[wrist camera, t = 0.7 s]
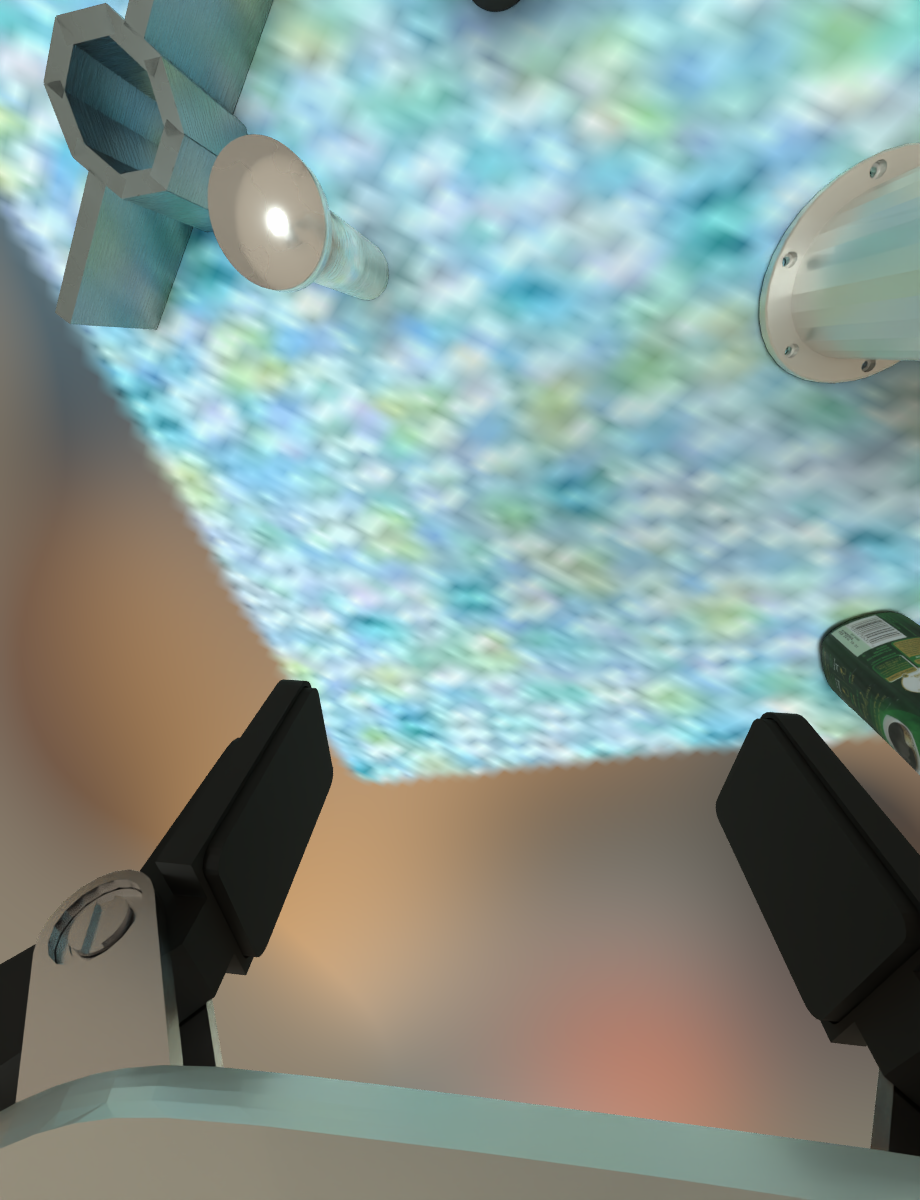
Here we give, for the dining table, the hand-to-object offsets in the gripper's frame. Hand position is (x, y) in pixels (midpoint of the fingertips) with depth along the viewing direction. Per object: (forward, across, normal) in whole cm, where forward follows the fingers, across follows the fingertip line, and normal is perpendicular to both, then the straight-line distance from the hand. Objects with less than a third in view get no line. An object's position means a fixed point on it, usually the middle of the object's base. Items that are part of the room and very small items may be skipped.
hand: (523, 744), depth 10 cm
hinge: (+32, +22, -19) cm, 43 cm away
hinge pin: (+32, +11, -13) cm, 36 cm away
